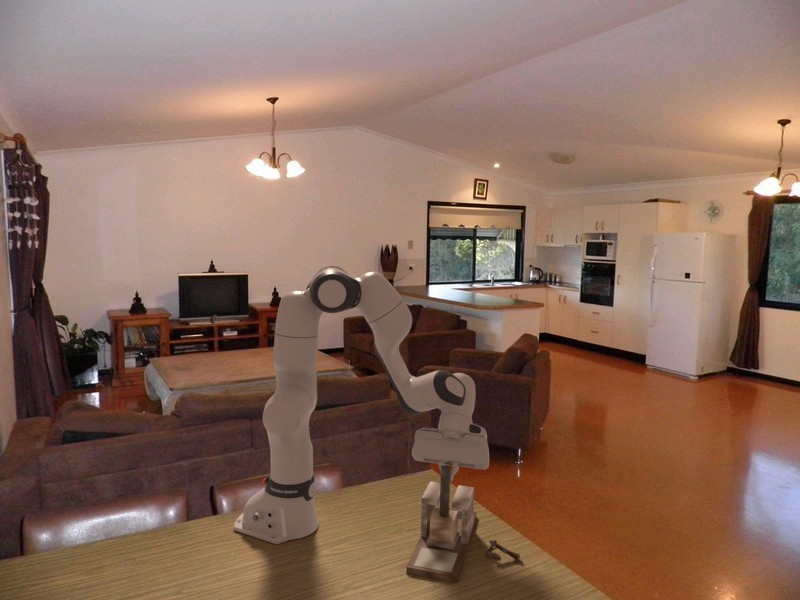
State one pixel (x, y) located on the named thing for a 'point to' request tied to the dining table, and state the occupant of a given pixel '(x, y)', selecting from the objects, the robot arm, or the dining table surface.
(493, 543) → the toy flintlock pistol
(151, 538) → the dining table surface
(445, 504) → the rod on wooden block
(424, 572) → the tunnel track
